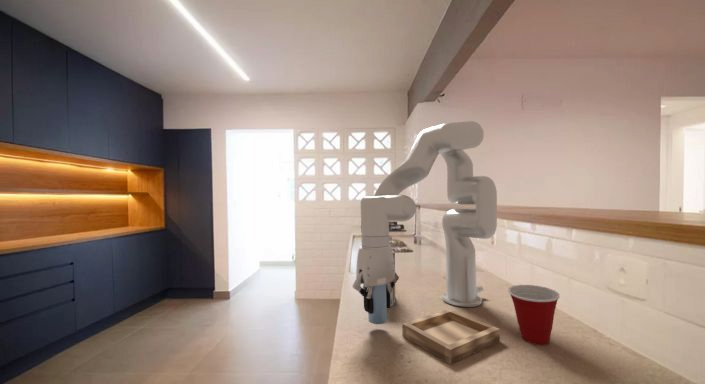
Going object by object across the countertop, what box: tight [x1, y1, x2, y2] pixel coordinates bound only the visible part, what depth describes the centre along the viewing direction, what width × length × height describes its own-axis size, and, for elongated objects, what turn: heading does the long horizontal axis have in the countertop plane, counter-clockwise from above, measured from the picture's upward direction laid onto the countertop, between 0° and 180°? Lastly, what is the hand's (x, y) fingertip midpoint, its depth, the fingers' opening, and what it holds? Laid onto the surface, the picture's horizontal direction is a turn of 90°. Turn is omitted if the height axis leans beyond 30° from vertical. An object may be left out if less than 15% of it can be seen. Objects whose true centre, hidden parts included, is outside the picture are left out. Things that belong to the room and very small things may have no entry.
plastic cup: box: [507, 284, 560, 346], centre depth 69 cm, size 11×11×12 cm
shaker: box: [367, 278, 388, 325], centre depth 75 cm, size 5×5×12 cm
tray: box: [401, 308, 501, 365], centre depth 69 cm, size 18×15×3 cm
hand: (377, 308), depth 75 cm, fingers closed on shaker, 5 cm apart
